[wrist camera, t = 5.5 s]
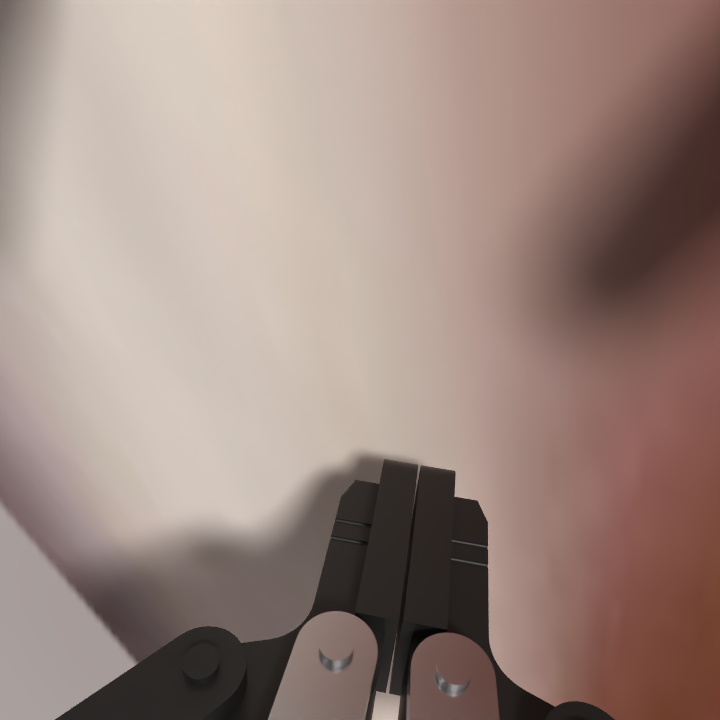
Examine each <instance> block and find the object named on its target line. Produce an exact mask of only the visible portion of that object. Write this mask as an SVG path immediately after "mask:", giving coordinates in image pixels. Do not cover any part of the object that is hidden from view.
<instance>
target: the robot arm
mask: <svg viewBox="0 0 720 720" xmlns="http://www.w3.org/2000/svg"><path fill="white" fill-rule="evenodd" d="M417 471H418V465H415V464H409V463H403V462H397V461H391V460H384V464H383V469H382V474H381V479H380V484H376V483H370V482H364V481H358V480H355V482H354V483H353V484H352V485H351V486H350V487H349V489H348V490H347V491H346V492H345V493H344V494H343V495H342V497H341V500H340V504H339V508H338V512H337V515H336V520H335V523H334V527H333V531H332V535H331V540H330V543H329V547H328V550H327V554H326V558H325V562H324V566H323V570H322V574H321V578H320V582H319V586H318V589H317V593H316V597H315V601H314V604H313V607H312V610H311V612H310V614H309V615H308V617H307V618H306V619H305V621H304V622H303V623H302V624H301V625H300V626H299V627H298V628H296V629H295V630H293V631H292V632H290V633H288V634H286V635H284V636H281V637H278V638H274V639H270V640H262V641H255V642H247V643H240V641H239V640H238V639H237V638H236V637H235V635H233V634H232V633H230V632H229V631H227V630H225V629H222V628H218V627H211V626H207V627H199V628H195V629H192V630H190V631H187V632H185V633H184V634H182V635H180V636H179V637H177V638H176V639H174V640H173V641H171V642H170V643H168V644H167V645H165V646H164V647H162V648H161V649H159V650H158V651H156V652H155V653H153V654H152V655H150V656H149V657H147V658H146V659H144V660H143V661H142V662H140V663H139V664H137V665H136V666H134V667H133V668H131V669H130V670H128V671H127V672H125V673H124V674H122V675H121V676H119V677H118V678H116V679H115V680H113V681H112V682H110V683H109V684H107V685H106V686H104V687H103V688H101V689H100V690H98V691H97V692H96V693H94V694H92V695H91V696H89V697H88V698H86V699H85V700H84V701H82V702H81V703H79V704H78V705H76V706H75V707H73V708H72V709H70V710H69V711H67V712H66V713H64V714H63V715H61V716H60V717H58V718H57V719H55V720H371V719H372V713H373V707H374V701H375V695H376V691H379V692H384V693H386V688H387V682H388V677H389V671H390V666H391V660H392V655H393V650H394V644H395V651H394V659H393V667H392V675H391V683H390V691H389V693H390V694H395V695H400V696H401V697H400V706H399V715H398V720H614V719H613V718H612V717H611V716H610V715H609V714H607V713H606V712H604V711H603V710H601V709H600V708H597V707H595V706H593V705H591V704H588V703H584V702H578V701H573V702H566V703H562V704H560V705H558V706H556V707H554V706H552V705H551V704H549V703H547V702H545V701H543V700H542V699H540V698H538V697H536V696H534V695H532V694H531V693H529V692H527V691H525V690H524V689H522V688H520V687H519V686H517V685H516V684H515V683H514V682H512V681H511V680H510V679H509V678H508V677H507V676H506V675H505V674H504V673H503V671H502V670H501V669H500V667H499V666H498V664H497V663H496V661H495V659H494V657H493V654H492V652H491V648H490V644H489V620H488V549H487V547H488V522H487V520H486V518H485V516H484V514H483V511H482V509H481V507H480V505H479V503H478V501H476V500H470V499H464V498H458V497H454V493H455V471H452V470H446V469H440V468H434V467H428V466H422V465H421V468H420V473H419V479H418V484H417V490H416V496H415V502H414V495H415V487H416V479H417ZM413 503H414V507H413ZM412 511H413V513H412ZM396 633H397V635H396ZM395 639H396V643H395Z"/></svg>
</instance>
